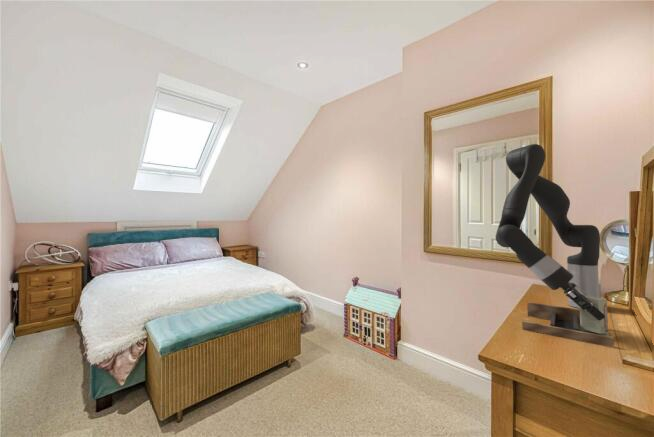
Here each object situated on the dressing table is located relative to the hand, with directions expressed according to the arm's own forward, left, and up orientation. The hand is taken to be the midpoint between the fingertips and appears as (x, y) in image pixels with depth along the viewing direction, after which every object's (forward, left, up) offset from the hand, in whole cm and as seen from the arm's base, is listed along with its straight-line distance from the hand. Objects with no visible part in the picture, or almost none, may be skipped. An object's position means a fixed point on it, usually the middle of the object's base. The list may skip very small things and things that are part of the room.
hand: (601, 315), depth 83 cm
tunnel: (+6, -6, -6) cm, 11 cm away
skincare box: (+1, -1, -5) cm, 5 cm away
